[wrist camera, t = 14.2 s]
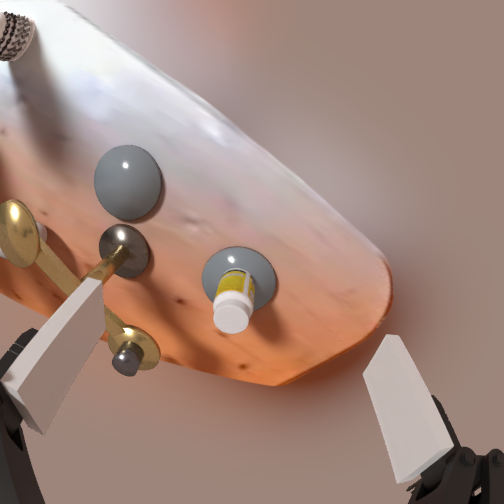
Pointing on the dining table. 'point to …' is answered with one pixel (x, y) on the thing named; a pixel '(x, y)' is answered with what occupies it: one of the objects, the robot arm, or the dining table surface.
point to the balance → (113, 262)
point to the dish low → (243, 260)
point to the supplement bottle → (234, 300)
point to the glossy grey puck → (127, 182)
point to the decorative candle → (14, 35)
